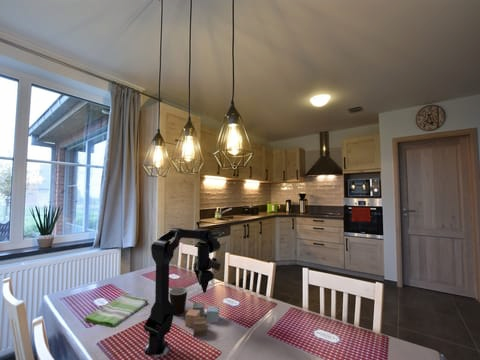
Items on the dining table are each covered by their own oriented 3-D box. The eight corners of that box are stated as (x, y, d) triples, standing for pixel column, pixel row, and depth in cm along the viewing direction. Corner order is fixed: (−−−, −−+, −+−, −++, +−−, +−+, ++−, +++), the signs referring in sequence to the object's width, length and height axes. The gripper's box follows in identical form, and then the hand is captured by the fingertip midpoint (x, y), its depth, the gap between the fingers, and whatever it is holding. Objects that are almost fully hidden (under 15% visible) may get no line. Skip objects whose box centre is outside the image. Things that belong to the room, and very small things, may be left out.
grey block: (203, 318, 107) (203, 307, 107) (192, 318, 106) (192, 307, 107) (204, 312, 112) (204, 302, 112) (193, 313, 111) (194, 302, 112)
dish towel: (148, 304, 120) (149, 297, 121) (114, 328, 98) (115, 320, 98) (121, 299, 125) (122, 292, 125) (83, 322, 103) (83, 314, 103)
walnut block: (205, 335, 94) (206, 323, 94) (193, 336, 93) (193, 324, 93) (205, 328, 99) (206, 316, 99) (194, 329, 98) (194, 317, 98)
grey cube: (217, 323, 103) (217, 311, 103) (206, 322, 103) (206, 311, 104) (219, 317, 108) (219, 306, 108) (208, 316, 108) (208, 305, 109)
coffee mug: (182, 317, 107) (182, 295, 107) (165, 315, 109) (165, 293, 109) (192, 305, 118) (192, 285, 119) (176, 303, 120) (177, 284, 120)
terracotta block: (196, 327, 99) (196, 316, 99) (185, 326, 100) (185, 314, 100) (200, 321, 104) (200, 310, 104) (189, 320, 105) (190, 309, 105)
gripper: (225, 259, 104) (224, 294, 103) (214, 249, 122) (214, 279, 121) (200, 261, 100) (199, 298, 99) (193, 251, 118) (192, 282, 117)
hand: (202, 288), depth 109 cm, fingers open, 9 cm apart
